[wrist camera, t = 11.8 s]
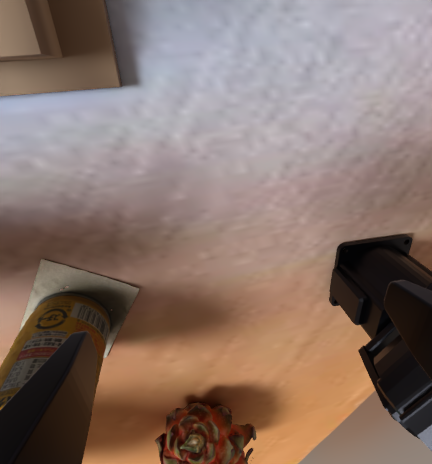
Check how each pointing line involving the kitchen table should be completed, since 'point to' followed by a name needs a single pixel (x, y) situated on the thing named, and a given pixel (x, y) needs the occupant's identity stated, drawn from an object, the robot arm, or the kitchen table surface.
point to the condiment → (64, 320)
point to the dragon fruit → (204, 437)
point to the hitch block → (56, 46)
